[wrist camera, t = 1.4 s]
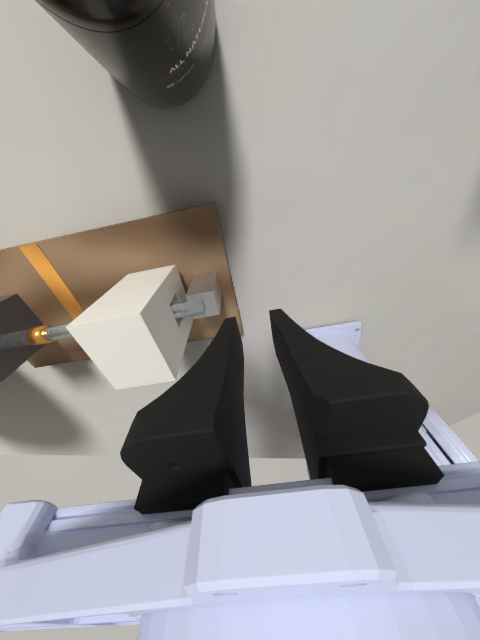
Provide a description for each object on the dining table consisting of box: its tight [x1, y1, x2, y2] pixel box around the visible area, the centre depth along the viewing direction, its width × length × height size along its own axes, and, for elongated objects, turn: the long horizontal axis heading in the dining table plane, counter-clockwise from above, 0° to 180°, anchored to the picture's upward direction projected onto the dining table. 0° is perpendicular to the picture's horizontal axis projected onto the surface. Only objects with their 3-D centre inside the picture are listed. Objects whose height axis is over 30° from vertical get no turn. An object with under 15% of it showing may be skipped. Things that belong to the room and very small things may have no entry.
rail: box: [0, 271, 222, 350], centre depth 17 cm, size 2×20×5 cm, turn 101°
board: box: [0, 202, 242, 368], centre depth 20 cm, size 12×24×2 cm, turn 101°
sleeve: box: [66, 265, 194, 390], centre depth 15 cm, size 5×4×8 cm
